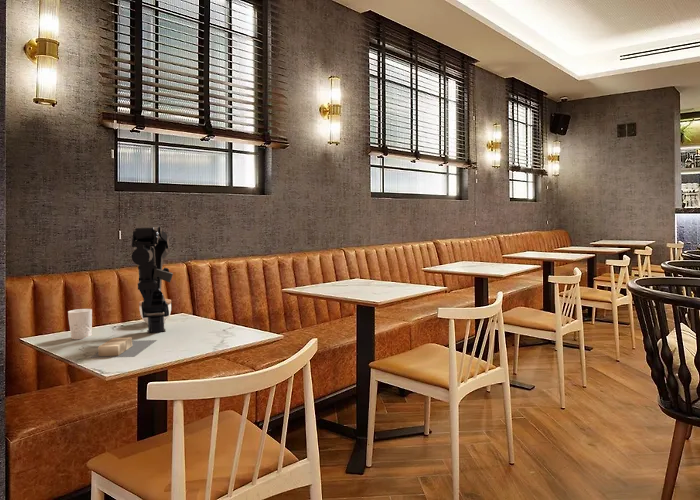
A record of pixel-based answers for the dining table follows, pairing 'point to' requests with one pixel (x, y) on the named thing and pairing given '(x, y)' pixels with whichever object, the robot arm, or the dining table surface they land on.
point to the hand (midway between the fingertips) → (149, 306)
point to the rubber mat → (130, 349)
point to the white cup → (80, 323)
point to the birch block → (115, 346)
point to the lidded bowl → (155, 313)
